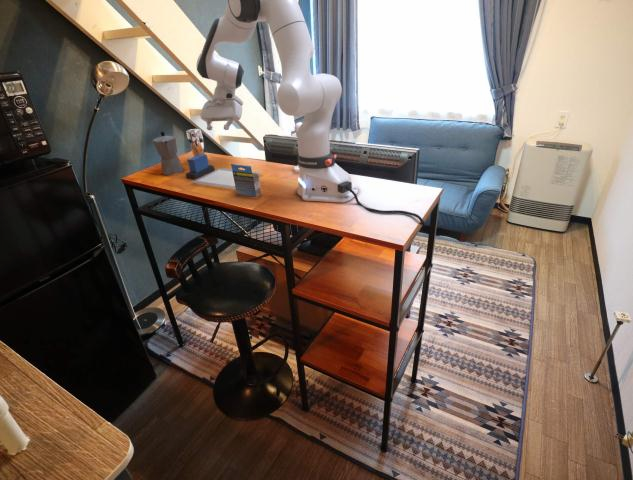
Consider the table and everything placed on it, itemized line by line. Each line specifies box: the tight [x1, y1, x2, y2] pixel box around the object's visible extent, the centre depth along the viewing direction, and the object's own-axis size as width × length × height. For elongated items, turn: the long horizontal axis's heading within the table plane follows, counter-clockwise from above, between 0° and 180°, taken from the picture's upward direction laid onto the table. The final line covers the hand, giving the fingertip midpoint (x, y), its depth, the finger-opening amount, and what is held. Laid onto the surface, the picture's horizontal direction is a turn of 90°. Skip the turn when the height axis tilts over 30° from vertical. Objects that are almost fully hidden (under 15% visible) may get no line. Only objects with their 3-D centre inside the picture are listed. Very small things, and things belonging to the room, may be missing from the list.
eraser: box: [185, 153, 216, 181], centre depth 147 cm, size 5×12×8 cm, turn 154°
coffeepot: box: [152, 131, 184, 176], centre depth 152 cm, size 15×9×18 cm, turn 27°
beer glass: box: [185, 128, 205, 157], centre depth 163 cm, size 7×7×15 cm
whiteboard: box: [192, 167, 261, 190], centre depth 143 cm, size 22×18×1 cm
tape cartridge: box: [230, 163, 262, 197], centre depth 124 cm, size 9×4×12 cm, turn 65°
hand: (217, 129), depth 149 cm, fingers open, 8 cm apart
